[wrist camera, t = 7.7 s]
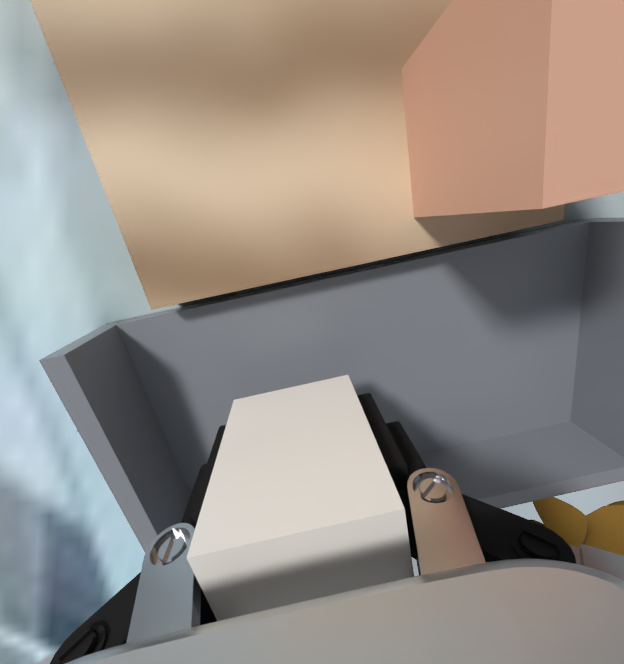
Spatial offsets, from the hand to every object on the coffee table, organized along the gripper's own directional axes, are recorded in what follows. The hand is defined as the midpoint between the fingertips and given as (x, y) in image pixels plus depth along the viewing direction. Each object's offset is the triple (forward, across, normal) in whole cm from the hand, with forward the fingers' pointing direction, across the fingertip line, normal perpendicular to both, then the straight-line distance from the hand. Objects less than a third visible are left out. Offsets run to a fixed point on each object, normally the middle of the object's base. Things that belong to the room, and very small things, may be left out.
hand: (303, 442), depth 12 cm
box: (+4, -4, 0) cm, 5 cm away
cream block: (+1, 0, 0) cm, 1 cm away
